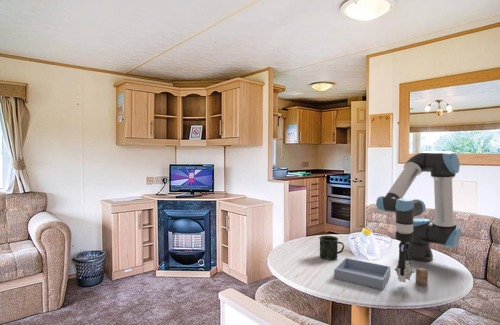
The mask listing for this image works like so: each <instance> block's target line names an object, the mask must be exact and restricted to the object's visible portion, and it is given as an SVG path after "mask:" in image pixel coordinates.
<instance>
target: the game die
mask: <svg viewBox="0 0 500 325" xmlns="http://www.w3.org/2000/svg"><path fill="white" fill-rule="evenodd" d="M397 266H399V260H397ZM397 266H396V268H394V269H393V270H394V271H396V275H397V277H398V278H397V280H399V268H397ZM405 268H406V280H408V281H409V282H410V281H411V279H410V278H411V277H412V274H413V273H415V272H414V271H413V270H412V267H411V262H409V264H407V263H406V264H405Z"/></svg>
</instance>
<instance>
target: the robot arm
mask: <svg viewBox="0 0 500 325" xmlns="http://www.w3.org/2000/svg"><path fill="white" fill-rule="evenodd" d="M460 166H461V164H460V158H459V157H458V155H457V154H456V153H455V152H453V151H446V150H445V151H428V150H427V151H421V152H418V153H417V154H415V155H413V156H411V157H410V158H409V159H408V160H407V161H406V162H405V163H404V165H403V170H401V173H400V174H399V176H398V177H397V179H396V180H395V182H394V183H393V184H392V186H391V187H390V188H389V190H388V192H387V193H386V194H385V196H384V195H382V196H378V197H377V199H376V201H375V202H376V203H375V204H376V205H375V206H376V208H377V210H379V211H383V212H388V213H395V223H394V224H393V225H394V226H395V239H396V240H397V241H399V244H398V252H399V253H398V261H399V266H396V267H397V268H399V277H398V278H399V279H398V282H399V283H406V280H407V279H406V268H405V264H406V263H407V264H409V263H410V261H411V260H412V261H413V260H415V261H420V262H431V261H432V260H434V254H433V251H432V248H431V245H430V244H435V245H439V246H443V247H449V248H455V247H456V246H457V245H458V244H459V243H460V239H461V236H462V230H461V227H458V226H457V222H456V221H455V220H454V210H453V209H454V203H453V201H454V200H453V199H454V197H453V179H454V178H455V177H456V174H458V173H459V172H460V168H461V167H460ZM424 172H426V173H430V177H431V178H433V186H434V187H433V188H434V189H433V190H434V192H433V193H434V194H433V195H434V219H433V220H432V221H431V219H428V218H415V217H418V216H421V215H422V214H424V213H425V211H426V209H427V208H426V207H427V206H426V204H425V203H424V201H423V200H420V199H412V198H404V197H405V195H406V193H407V191H408V190H409V189H410V187H411V185H412V184H413V182H414V181H415V179H416V178H417V176H420V175H421V174H422V173H424ZM409 265H410V264H409Z"/></svg>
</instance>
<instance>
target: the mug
mask: <svg viewBox="0 0 500 325" xmlns="http://www.w3.org/2000/svg"><path fill="white" fill-rule="evenodd" d="M318 240H319V257H320V258H321V259H323V260H326V261H334V260H337V259H338V254H341V253H343V250H344V248H345V244H344V243H343V242H342V241H339V238H338V237H337V236H333V235H322V236H319V238H318ZM338 244H341V245H342V248H341V250H340V251H339V250H338Z"/></svg>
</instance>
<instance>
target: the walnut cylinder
mask: <svg viewBox="0 0 500 325" xmlns="http://www.w3.org/2000/svg"><path fill="white" fill-rule="evenodd" d="M428 276H429V272H428V269H425V268H421V267H418V268H416V269H415V285H417V286H419V287H428Z"/></svg>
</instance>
